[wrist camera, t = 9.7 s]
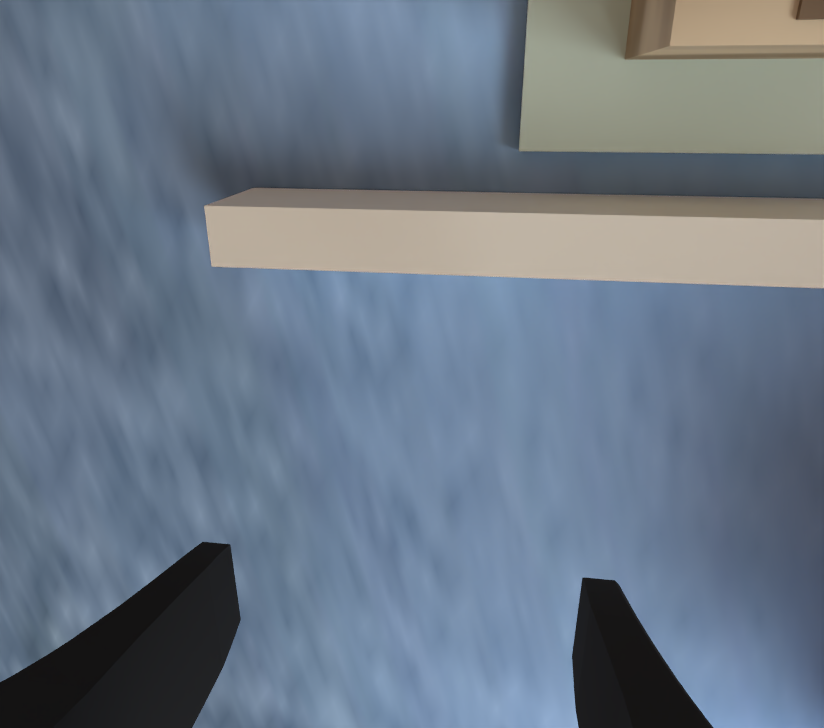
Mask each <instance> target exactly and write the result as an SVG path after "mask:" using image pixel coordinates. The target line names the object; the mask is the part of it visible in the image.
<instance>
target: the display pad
mask: <svg viewBox="0 0 824 728" xmlns="http://www.w3.org/2000/svg"><path fill="white" fill-rule="evenodd" d="M631 1H632V0H528V8H527V24H526V40H525V56H524V73H523V89H522V105H521V121H520V137H519V151H547V152H640V153H733V154H824V58H804V59H651V60H625V52H626V44H627V35H628V27H629V18H630V10H631Z"/></svg>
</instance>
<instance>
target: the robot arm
mask: <svg viewBox="0 0 824 728" xmlns="http://www.w3.org/2000/svg"><path fill="white" fill-rule="evenodd" d="M240 620H241V619H240V611H239V604H238V597H237V590H236V582H235V575H234V568H233V561H232V553H231V546H230V544H220V543H209V542H202V543H201V544H199V545H198V546H197V547H195V548H194V549H193V550H191V551H190V552H189V553H187V554H186V555H185V556H183V557H182V558H181V559H180V560H178V561H177V562H176V563H174V564H173V565H172V566H171V567H169V568H168V569H167V570H166V571H164V572H163V573H162V574H160V575H159V576H158V577H157V578H155V579H154V580H153V581H151V582H150V583H149V584H148V585H146V586H145V587H144V588H142V589H141V590H140V591H138V592H137V593H136V594H134V595H133V596H132V597H130V598H129V599H128V600H127V601H125V602H124V603H123V604H121V605H120V606H119V607H117V608H116V609H114V610H113V611H111V612H110V613H109V614H107V615H106V616H104V617H103V618H101V619H100V620H99V621H97V622H96V623H94V624H93V625H91V626H90V627H89V628H87V629H86V630H84V631H83V632H82V633H80V634H79V635H77V636H76V637H74V638H73V639H71V640H70V641H68V642H67V643H65V644H64V645H62V646H61V647H59V648H58V649H56V650H54V651H53V652H51V653H50V654H48V655H46V656H45V657H43V658H42V659H40V660H38V661H36V662H35V663H33V664H31V665H30V666H28V667H26V668H25V669H23V670H21V671H20V672H18V673H16V674H15V675H13V676H11V677H9V678H8V679H6V680H4V681H2V682H0V728H192V727H193V725H194V723H195V721H196V719H197V717H198V715H199V713H200V711H201V709H202V708H203V706H204V704H205V702H206V700H207V698H208V696H209V694H210V692H211V690H212V688H213V686H214V684H215V682H216V680H217V678H218V676H219V674H220V672H221V670H222V668H223V666H224V663H225V661H226V658H227V656H228V653H229V650H230V648H231V645H232V642H233V640H234V637H235V634H236V631H237V628H238V626H239V623H240ZM572 660H573V677H574V692H575V706H576V714H577V720H578V726H579V728H713V727H712V725H711V724H710V723H709V722H708V720H707V719H706V718H705V716H704V715H703V714H702V712H701V711H700V710H699V708H698V707H697V706H696V704H695V703H694V702H693V700H692V699H691V698H690V696H689V695H688V694H687V692H686V691H685V689H684V688H683V687H682V685H681V684H680V682H679V681H678V680H677V678H676V677H675V675H674V674H673V672H672V671H671V669H670V668H669V666H668V665H667V663H666V662H665V660H664V659H663V657H662V656H661V654H660V653H659V652H658V650H657V648H656V647H655V645H654V644H653V642H652V641H651V639H650V637H649V636H648V634H647V633H646V631H645V629H644V628H643V626H642V624H641V623H640V621H639V619H638V618H637V616H636V614H635V613H634V611H633V609H632V607H631V606H630V604H629V602H628V600H627V598H626V597H625V595H624V593H623V591H622V589H621V587H620V586H619V584H618V583H617V582H616V581H615V580H604V579H593V578H582V586H581V593H580V601H579V608H578V616H577V624H576V631H575V639H574V646H573V654H572Z"/></svg>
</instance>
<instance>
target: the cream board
mask: <svg viewBox="0 0 824 728" xmlns="http://www.w3.org/2000/svg"><path fill="white" fill-rule="evenodd" d="M204 209H205V217H206V225H207V233H208V241H209V249H210V257H211V265H212V267H237V268H265V269H293V270H321V271H349V272H378V273H406V274H434V275H462V276H490V277H518V278H546V279H574V280H602V281H630V282H658V283H686V284H714V285H742V286H770V287H798V288H824V199H821V198H768V197H716V196H663V195H610V194H557V193H504V192H451V191H399V190H346V189H293V188H252V189H249V190H246V191H243V192H241V193H238V194H235V195H232V196H230V197H227V198H224V199H221V200H219V201H216V202H213V203H210V204H208V205H205V206H204Z"/></svg>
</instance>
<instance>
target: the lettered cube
mask: <svg viewBox="0 0 824 728" xmlns="http://www.w3.org/2000/svg"><path fill="white" fill-rule="evenodd" d="M804 58H824V0H632V1H631V10H630V18H629V27H628V35H627V44H626V52H625V60H651V59H804Z"/></svg>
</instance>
